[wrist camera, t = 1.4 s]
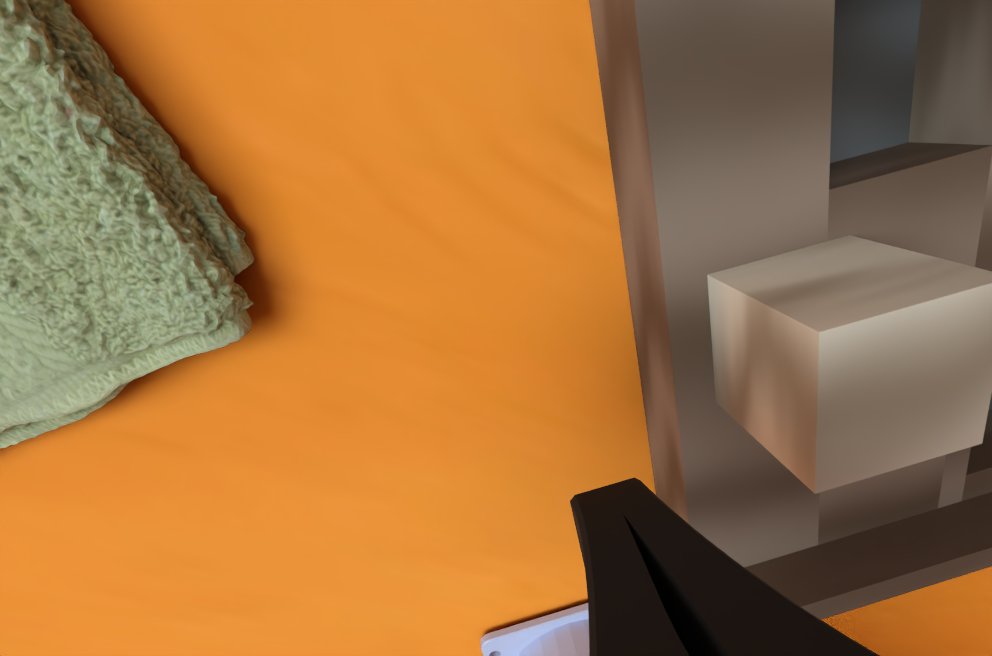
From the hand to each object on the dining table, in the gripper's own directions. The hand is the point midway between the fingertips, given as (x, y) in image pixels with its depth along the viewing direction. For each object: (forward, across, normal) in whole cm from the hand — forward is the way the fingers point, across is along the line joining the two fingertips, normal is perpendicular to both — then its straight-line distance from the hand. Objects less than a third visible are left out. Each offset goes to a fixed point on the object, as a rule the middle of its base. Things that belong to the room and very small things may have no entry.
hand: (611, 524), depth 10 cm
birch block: (+6, -8, 0) cm, 9 cm away
